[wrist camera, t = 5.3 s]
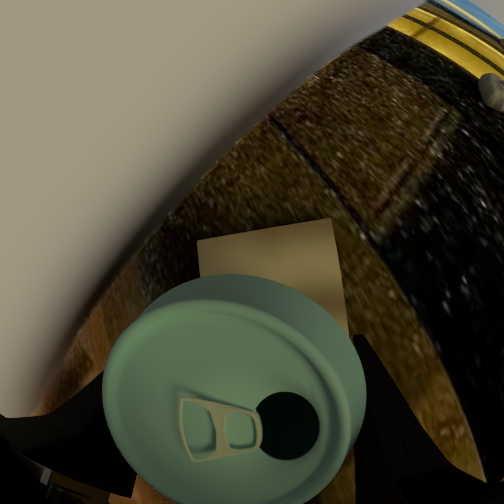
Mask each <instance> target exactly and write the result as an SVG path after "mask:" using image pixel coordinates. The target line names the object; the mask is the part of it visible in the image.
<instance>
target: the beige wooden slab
mask: <svg viewBox="0 0 504 504" xmlns="http://www.w3.org/2000/svg"><path fill="white" fill-rule="evenodd" d="M197 247H198V259H199V269H200V278H202V277H206V276H213V275H223V274H239V275H249V276H256V277H261V278H265V279H269V280H272V281H275V282H278V283H281V284H284V285H286V286H288V287H290V288H293V289H295V290H297V291H299V292H300V293H302V294H304V295H305V296H307V297H309V298H310V299H312V300H313V301H314V302H316V303H317V304H319V305H320V306H321V307H322V308H323V309H325V310H326V311H327V312H328V313H329V314H330V315H331V316H332V317H333V318H334V319H335V320H336V321H337V322H338V324H339V325H340V326H341V327H342V329H343V330H344V331H345V333H346V334H347V335H348V337H349V333H348V324H347V315H346V307H345V300H344V292H343V286H342V279H341V272H340V266H339V260H338V254H337V249H336V243H335V238H334V233H333V227H332V222H331V218H328V219H321V220H315V221H309V222H303V223H296V224H290V225H284V226H278V227H272V228H266V229H261V230H255V231H249V232H243V233H237V234H232V235H226V236H221V237H215V238H209V239H204V240H199V241H197Z"/></svg>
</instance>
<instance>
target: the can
mask: <svg viewBox="0 0 504 504" xmlns="http://www.w3.org/2000/svg"><path fill="white" fill-rule="evenodd" d="M102 400H103V408H104V413H105V417H106V421H107V424H108V427H109V430H110V433H111V435H112V437H113V439H114V441H115V443H116V445H117V447H118V449H119V450H120V452H121V454H122V455H123V457H124V458H125V459H126V461H127V462H128V463H129V465H130V466H131V467H132V468H133V469H134V471H135V472H136V473H137V474H138V475H139V476H140V477H141V478H142V479H143V480H144V481H145V482H147V483H148V484H149V485H150V486H151V487H153V488H154V489H155V490H157V491H158V492H160V493H161V494H162V495H164V496H166V497H167V498H169V499H171V500H172V501H174V502H176V503H178V504H303V503H305V502H307V501H308V500H310V499H311V498H313V497H314V496H315V495H317V494H318V493H319V492H320V491H321V490H322V489H324V488H325V487H326V486H327V485H328V483H329V482H330V481H331V480H332V479H333V478H334V476H335V475H336V473H337V472H338V470H339V469H340V467H341V465H342V463H343V461H344V459H345V457H346V456H347V455H348V453H349V452H350V450H351V448H352V447H353V445H354V443H355V441H356V439H357V437H358V435H359V432H360V429H361V426H362V423H363V419H364V414H365V409H366V382H365V377H364V371H363V368H362V365H361V362H360V359H359V356H358V354H357V352H356V349H355V347H354V346H353V344H352V342H351V340H350V339H349V337H348V335H347V334H346V333H345V331H344V330H343V329H342V327H341V326H340V325H339V324H338V322H337V321H336V320H335V319H334V318H333V317H332V316H331V315H330V314H329V313H328V312H327V311H326V310H325V309H323V308H322V307H321V306H320V305H319V304H317V303H316V302H314V301H313V300H312V299H310V298H309V297H307V296H305V295H304V294H302V293H300V292H299V291H297V290H295V289H293V288H290V287H288V286H286V285H284V284H281V283H278V282H275V281H272V280H269V279H265V278H261V277H256V276H249V275H239V274H223V275H213V276H206V277H202V278H198V279H194V280H191V281H188V282H186V283H183V284H181V285H179V286H177V287H175V288H173V289H171V290H169V291H168V292H166V293H165V294H163V295H161V296H160V297H159V298H157V299H156V300H155V301H154V302H152V303H151V304H150V305H149V306H148V307H147V308H146V309H145V310H144V311H143V312H142V314H141V315H140V316H139V317H138V318H137V319H136V320H135V321H134V322H132V323H131V324H130V325H129V326H128V327H127V328H126V329H125V330H124V331H123V332H122V334H121V335H120V336H119V338H118V339H117V341H116V342H115V344H114V346H113V347H112V349H111V351H110V354H109V356H108V359H107V362H106V365H105V369H104V374H103V381H102Z"/></svg>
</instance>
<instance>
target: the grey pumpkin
mask: <svg viewBox="0 0 504 504" xmlns="http://www.w3.org/2000/svg"><path fill="white" fill-rule="evenodd" d="M478 87H479V91H480V93H481V96H482V99H483V101H484V103H485V104H486V105H487V106H489V107H491V108H493V109H495V110H498V111H502V112H503V111H504V80H502V79H501V78H500V77H499V76H497V75H496V74H492V73H487V74H483V75H482V76H481V78H480V80H479V83H478Z"/></svg>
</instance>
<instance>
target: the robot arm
mask: <svg viewBox="0 0 504 504" xmlns="http://www.w3.org/2000/svg"><path fill="white" fill-rule="evenodd" d="M351 342H352V344H353V346H354V347H355V349H356V352H357V354H358V356H359V359H360V362H361V365H362V368H363V371H364V377H365V382H366V409H365V414H364V419H363V423H362V426H361V429H360V432H359V435H358V437H357V439H356V441H355V443H354V460H355V485H356V504H504V481H502V482H499V483H497V484H494V485H490V484H487V483H485V482H483V481H481V480H479V479H477V478H475V477H473V476H471V475H469V474H467V473H465V472H464V471H462V470H460V469H458V468H456V467H455V466H453V465H452V464H451V463H450V462H449V461H448V460H447V459H446V458H445V456H444V455H443V454H442V452H441V451H440V450H439V448H438V447H437V446H436V445H435V443H434V442H433V441H432V439H431V438H430V437H429V436H428V434H427V433H426V431H425V430H424V429H423V427H422V426H421V424H420V423H419V421H418V420H417V418H416V417H415V415H414V413H413V412H412V410H411V408H409V405H408V403H407V402H406V400H405V399H404V397H403V395H402V394H401V392H400V391H399V389H398V387H397V386H396V384H395V383H394V381H393V379H392V378H391V376H390V375H389V373H388V371H387V370H386V368H385V367H384V365H383V364H382V362H381V361H380V359H379V358H378V356H377V355H376V353H375V351H374V350H373V348H372V347H371V345H370V344H369V342H368V341H367V339H366V338H365V336H364V335H362V334H360V335H352V337H351ZM103 374H104V370H103V371H102V372H101V373H100V374H99V375H98V376H97V377H96V378H94V379H93V381H91V382H90V383H89V384H88V385H86V386H85V387H84V388H83V389H82V390H81V391H79V392H78V393H77V394H76V395H74V396H73V397H72V398H70V399H69V400H68V401H66V402H65V403H63V404H62V405H61V406H59V407H58V408H57V409H55V410H54V411H52V412H51V413H49V414H46V415H42V416H33V417H20V418H5V417H4V416H3V415H1V414H0V504H107V502H108V499H109V495H110V493H113V494H117V495H120V496H124V497H128V498H131V496H132V493H133V488H134V484H135V480H136V475H137V473H136V472H135V471H134V469H133V468H132V467H131V466H130V465H129V463H128V462H127V461H126V459H125V458H124V457H123V455H122V454H121V452H120V450H119V449H118V447H117V445H116V443H115V441H114V439H113V437H112V435H111V433H110V430H109V427H108V424H107V421H106V417H105V413H104V408H103V400H102V381H103Z"/></svg>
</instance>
